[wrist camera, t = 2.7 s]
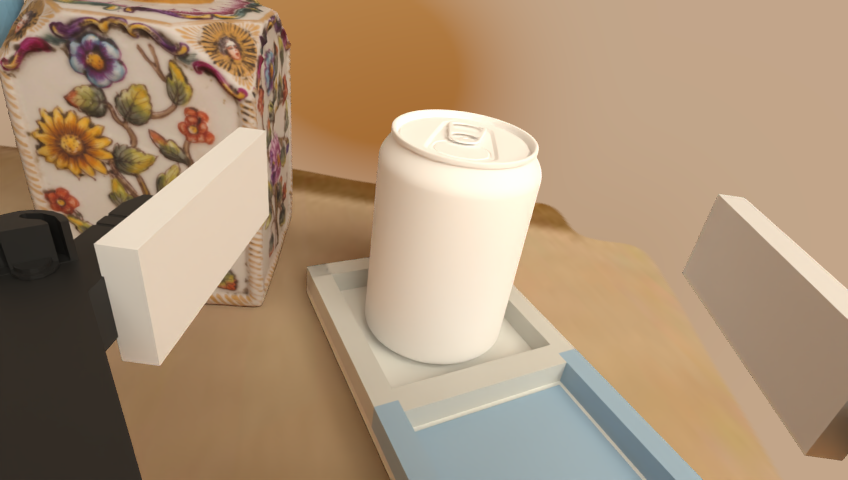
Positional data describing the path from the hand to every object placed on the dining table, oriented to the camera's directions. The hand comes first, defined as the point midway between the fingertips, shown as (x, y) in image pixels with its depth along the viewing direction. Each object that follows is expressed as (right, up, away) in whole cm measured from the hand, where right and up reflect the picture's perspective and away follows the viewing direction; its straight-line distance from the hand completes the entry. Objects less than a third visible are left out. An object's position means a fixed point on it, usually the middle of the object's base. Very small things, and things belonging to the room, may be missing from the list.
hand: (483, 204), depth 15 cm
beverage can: (-1, -6, +16) cm, 17 cm away
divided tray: (+1, -10, +12) cm, 15 cm away
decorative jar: (-18, -2, +20) cm, 27 cm away
